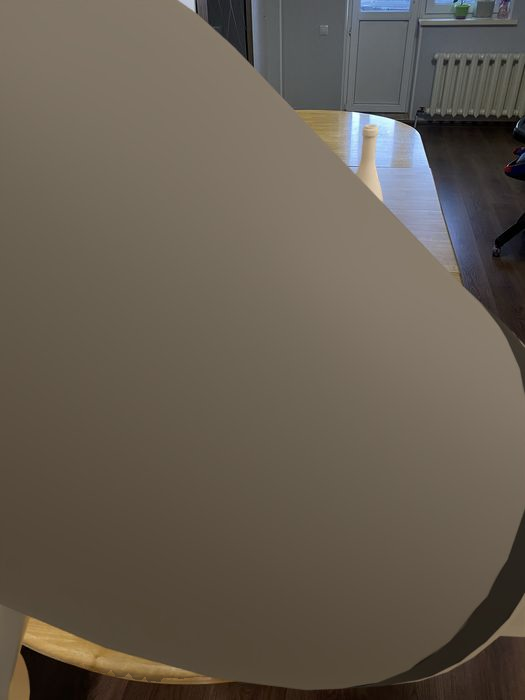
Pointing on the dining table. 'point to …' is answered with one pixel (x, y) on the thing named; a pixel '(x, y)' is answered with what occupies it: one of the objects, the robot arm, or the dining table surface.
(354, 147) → the dining table surface
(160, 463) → the robot arm
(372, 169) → the wine bottle
